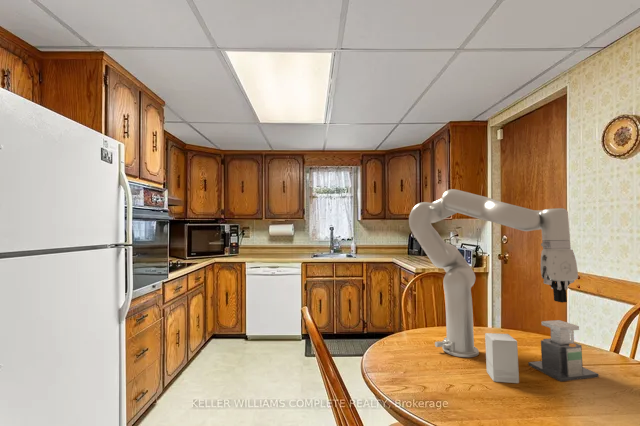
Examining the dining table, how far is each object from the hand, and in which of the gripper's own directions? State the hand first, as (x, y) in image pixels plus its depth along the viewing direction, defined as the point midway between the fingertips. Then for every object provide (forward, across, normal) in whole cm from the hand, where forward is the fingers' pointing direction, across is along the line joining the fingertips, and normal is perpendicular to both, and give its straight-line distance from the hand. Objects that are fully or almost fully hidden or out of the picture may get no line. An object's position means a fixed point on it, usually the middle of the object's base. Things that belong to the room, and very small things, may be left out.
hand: (560, 301), depth 107 cm
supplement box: (+22, -23, +1) cm, 32 cm away
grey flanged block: (+16, -1, -1) cm, 16 cm away
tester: (+22, -1, +1) cm, 22 cm away
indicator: (+13, -2, -5) cm, 14 cm away
